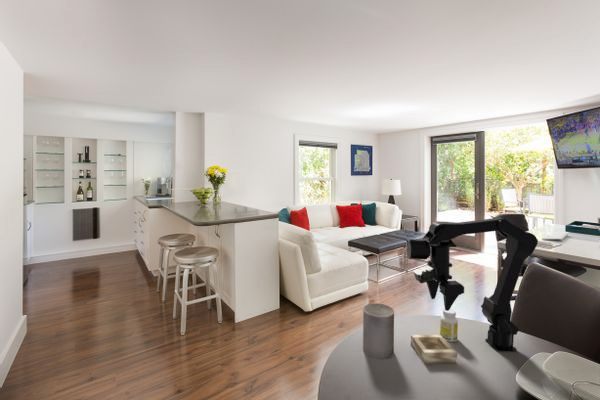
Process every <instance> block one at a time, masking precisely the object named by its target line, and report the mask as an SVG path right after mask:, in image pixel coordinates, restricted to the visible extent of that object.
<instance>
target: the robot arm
mask: <svg viewBox="0 0 600 400" xmlns="http://www.w3.org/2000/svg"><path fill="white" fill-rule="evenodd" d="M489 232H498V234H500V235H501V236H502V237H504V238H505V250H506V256H505V259H504V261H503V265H502V268H501V271H500V273H499V276H498V280H497V282H496V285H495V288H494V291H493V294H492V295H491V296H490V297H487V296H484V298H483V303H482V304H481V305H480V307H481V313H482V315H483V316H484V317H485V318H486V320H487V322H488V323H489V324H490V325H489V327H488V330H487V338H485V339H484V340H485V342H487V344H488V345H490V346H491V347H492V348H494V349H495V350H496V351H498V352H516V351H518V350H517V348H516V347H515V346H514V337H515V335H517V334H518V332H519V330H520V329H519V328H518V326H517V325H515V324H514V322H512V314H513V311H512V306H511V305H512V304H511V300H512V297H513V294H514V291H515V288H516V285H517V282H518V280H519V276H520V274H521V271H522V268H523V267H524V262H525V261H526V260H527V259H528V258H529V257H531V255H533V253H534V251H535V250H536V248H537V247H538V243H539V241H538V240H539V239H538V238H537V237H536V235H535V234H533V233H531V232H529V231H525V230H523V229H521V228H520V227H518V226H517V225H514V224H513V223H511V222H510V221H508V219H506V218H502V217H499V216H497V217H496V216H495V217H492V218H485V219H484V218H483V219H477V220H476V219H474V220H468V221H467V220H466V221H461V222H454V221H453V222H452V221H439V220H437V221H434V222H432V223H431V224H429V227H428V231H427V232H426V233H425V234H424V236H423V237H422V239H414V238H408V242H407V245H406V246H407V247H406V253H407V254H406V255H407V259H408V260H427V259H429V258H430V260H428V261H427V265H425V266H421V267H419V268H417V269H414V270H413V271H412V272H413V275H414V278H415V280H416V281H418V282H419V283H420V284H425V283H426V285H427V288H428V292H429V296H430V299H431V300H435V299H436V297H437V293H438V289H439V293H441V295H442V297H443V305H444V309H445V310H446V311H448V310H449V309H452V306H453V304H454V303H455V302H456V300H457V298H458V297H460V295H462V294H465V286H464V285H463V284H462V283H460V282H459V281H456V280H453V276H452V275H451V274H450V268H452V267H453V263H451V262H450V257H451V256H450V254H451V252H450V251H451V249H450V248H456V247H457V246H458V245H457V244H456V243H455V242H454V241H453V240H455V239H456V238H458V237H461V236H465V235H473V234H480V233H481V234H482V233H489Z"/></svg>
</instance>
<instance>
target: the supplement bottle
mask: <svg viewBox="0 0 600 400" xmlns="http://www.w3.org/2000/svg"><path fill="white" fill-rule="evenodd" d="M456 315H457V312H456V310H454V309H452V308H450V309H449V310H448V311H446V310H445V308H443V309H442V314H441V316H440V322H439V323H440V324H439V328H440V329H439V335H441V336H442V337H443V338H444V339H445V340H446V341H447V342H450V343H451V342H457V341H458V328H459V325H458V324H459V320H458V318H457V316H456Z"/></svg>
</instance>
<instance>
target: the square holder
mask: <svg viewBox="0 0 600 400" xmlns="http://www.w3.org/2000/svg"><path fill="white" fill-rule="evenodd" d="M410 346H411V347H412V349H413V350H414V352H415V353H416V354H417V356H418V357H419V359H420V360H421V362H422V363H423V364H457V362H458V361H457V359H458V357H457V356H458V351H456V350H455V349H454V348H453V346H452V345H451V344H450V343H449V341H446V340H445V339H444V338H443V337H442V336H441V335H440V334H410Z"/></svg>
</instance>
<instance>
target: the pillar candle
mask: <svg viewBox="0 0 600 400" xmlns="http://www.w3.org/2000/svg"><path fill="white" fill-rule="evenodd" d="M362 311H363V312H362V313H363V314H362V316H363V318H362V319H363V321H362V323H363V325H362V328H363V329H362V348H363V352H364V353H365V354H366V355H367V356H369V357H371V358H377V359H381V360H382V359H388V358H391V357H392V356H393V355H394V352H395V341H394V339H395V337H394V336H395V310H394V308H393V307H391V306H389V305H387V304H383V303H375V302H373V303H368V304H365V305H364V306H363V309H362Z"/></svg>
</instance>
